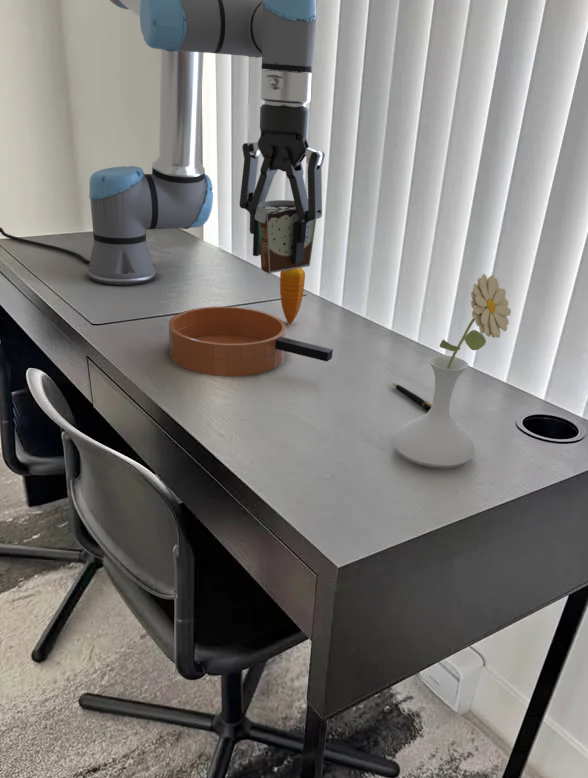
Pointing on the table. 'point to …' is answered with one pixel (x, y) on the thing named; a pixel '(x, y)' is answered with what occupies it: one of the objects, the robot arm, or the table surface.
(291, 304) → the carrot
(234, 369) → the pan
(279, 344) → the pan handle
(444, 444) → the flower in vase
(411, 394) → the fountain pen
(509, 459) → the table surface
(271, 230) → the food container
